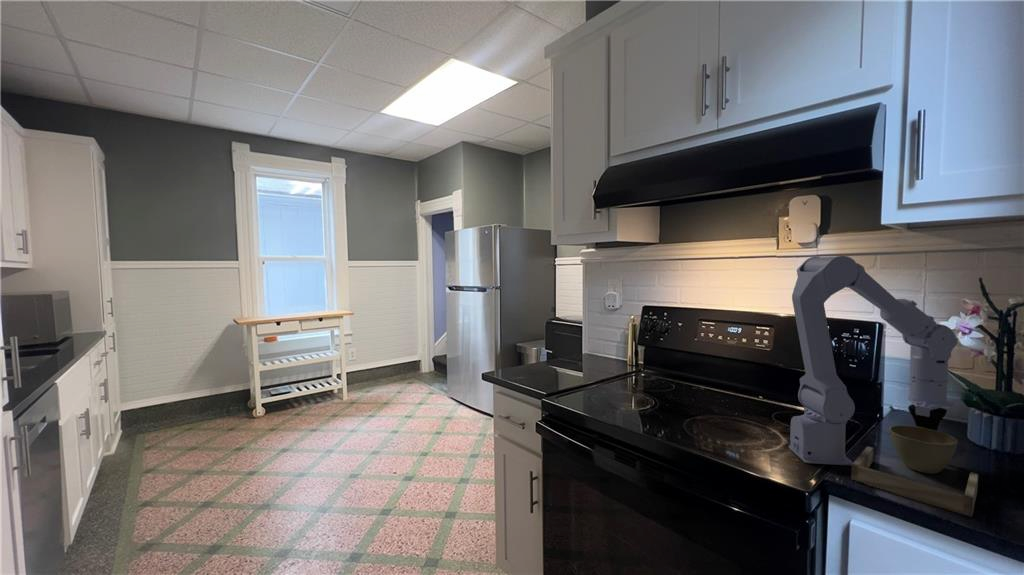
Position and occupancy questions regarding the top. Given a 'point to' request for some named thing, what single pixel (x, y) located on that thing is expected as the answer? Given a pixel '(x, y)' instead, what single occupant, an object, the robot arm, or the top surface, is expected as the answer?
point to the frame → (915, 486)
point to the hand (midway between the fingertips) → (926, 440)
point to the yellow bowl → (923, 447)
